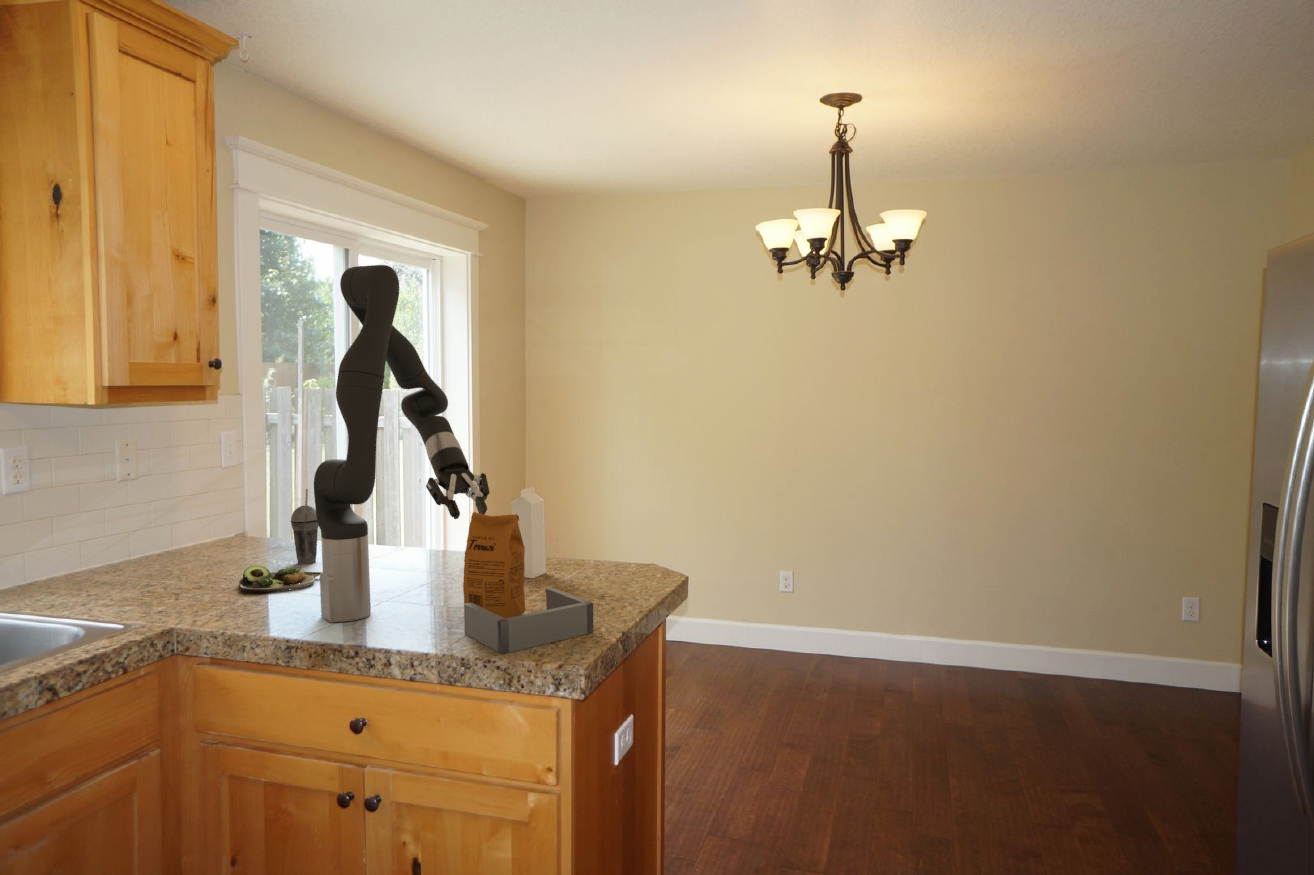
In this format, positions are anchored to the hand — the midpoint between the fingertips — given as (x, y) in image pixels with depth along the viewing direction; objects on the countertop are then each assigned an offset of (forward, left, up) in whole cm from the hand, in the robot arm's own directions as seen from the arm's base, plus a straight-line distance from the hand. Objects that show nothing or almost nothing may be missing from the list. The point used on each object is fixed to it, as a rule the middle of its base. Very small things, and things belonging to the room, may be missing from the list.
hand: (470, 515), depth 186 cm
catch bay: (0, -24, -20) cm, 32 cm away
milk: (+24, +18, -20) cm, 36 cm away
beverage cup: (-16, +69, -20) cm, 74 cm away
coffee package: (0, -10, -20) cm, 23 cm away
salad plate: (-29, +49, -21) cm, 60 cm away
